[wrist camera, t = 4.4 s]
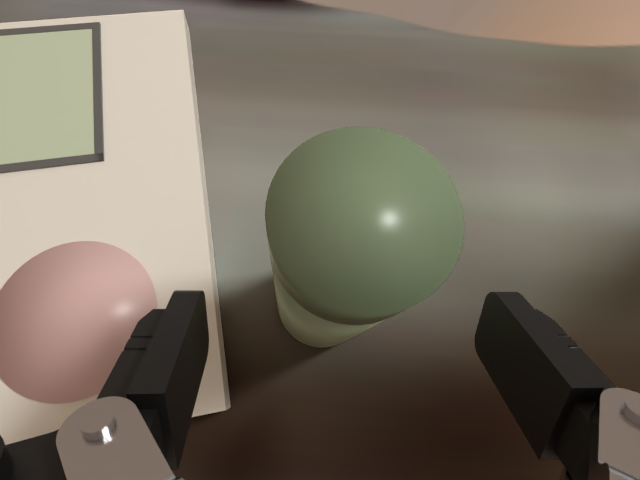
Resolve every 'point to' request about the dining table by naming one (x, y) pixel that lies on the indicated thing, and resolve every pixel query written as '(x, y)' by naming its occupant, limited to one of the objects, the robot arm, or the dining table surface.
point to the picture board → (96, 207)
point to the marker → (358, 232)
